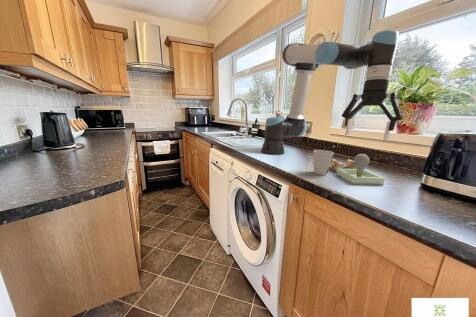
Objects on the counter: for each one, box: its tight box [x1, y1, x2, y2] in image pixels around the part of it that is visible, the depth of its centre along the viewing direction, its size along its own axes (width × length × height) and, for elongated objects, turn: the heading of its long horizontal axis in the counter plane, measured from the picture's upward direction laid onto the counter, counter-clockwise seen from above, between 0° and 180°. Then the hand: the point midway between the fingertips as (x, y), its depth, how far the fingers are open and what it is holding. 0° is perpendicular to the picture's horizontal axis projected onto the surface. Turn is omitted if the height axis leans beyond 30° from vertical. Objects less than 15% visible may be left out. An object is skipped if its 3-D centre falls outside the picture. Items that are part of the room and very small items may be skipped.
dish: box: [336, 168, 386, 186], centre depth 80 cm, size 12×12×3 cm
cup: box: [312, 149, 335, 176], centre depth 86 cm, size 8×8×10 cm
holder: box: [330, 158, 357, 173], centre depth 92 cm, size 9×9×4 cm
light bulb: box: [353, 153, 371, 177], centre depth 79 cm, size 6×6×10 cm
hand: (365, 137), depth 77 cm, fingers open, 13 cm apart
